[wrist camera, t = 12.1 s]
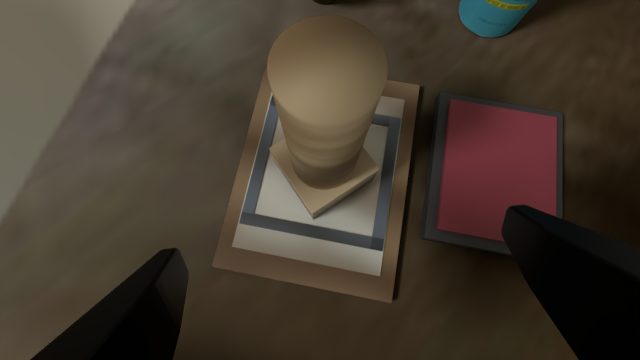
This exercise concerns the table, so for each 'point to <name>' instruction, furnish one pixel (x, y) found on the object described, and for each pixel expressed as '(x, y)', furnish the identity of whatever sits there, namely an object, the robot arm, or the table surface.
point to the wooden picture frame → (333, 225)
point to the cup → (324, 1)
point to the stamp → (326, 106)
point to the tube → (493, 15)
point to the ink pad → (489, 169)
